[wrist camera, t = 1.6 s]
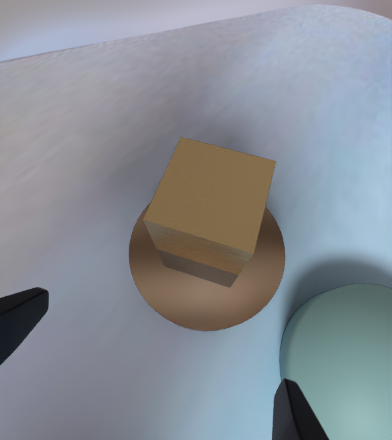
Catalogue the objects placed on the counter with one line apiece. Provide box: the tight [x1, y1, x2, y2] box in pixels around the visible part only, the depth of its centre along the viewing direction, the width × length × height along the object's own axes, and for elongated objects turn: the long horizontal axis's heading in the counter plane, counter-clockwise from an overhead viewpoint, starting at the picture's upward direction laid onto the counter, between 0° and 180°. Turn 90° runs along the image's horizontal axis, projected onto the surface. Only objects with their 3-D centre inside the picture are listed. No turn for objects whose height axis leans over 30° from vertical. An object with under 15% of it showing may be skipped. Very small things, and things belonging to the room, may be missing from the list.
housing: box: [143, 137, 276, 288], centre depth 17 cm, size 6×6×9 cm
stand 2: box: [280, 283, 392, 440], centre depth 19 cm, size 13×13×3 cm
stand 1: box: [129, 203, 285, 331], centre depth 23 cm, size 13×13×3 cm
